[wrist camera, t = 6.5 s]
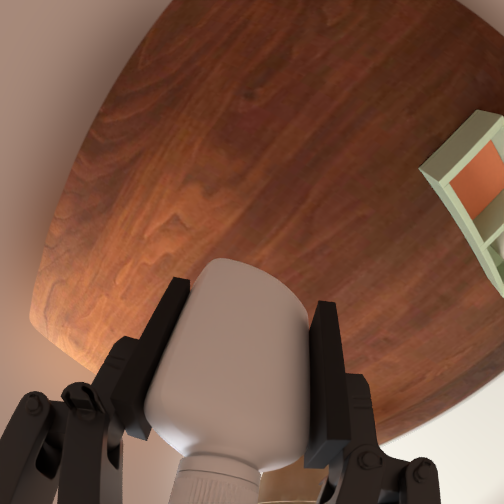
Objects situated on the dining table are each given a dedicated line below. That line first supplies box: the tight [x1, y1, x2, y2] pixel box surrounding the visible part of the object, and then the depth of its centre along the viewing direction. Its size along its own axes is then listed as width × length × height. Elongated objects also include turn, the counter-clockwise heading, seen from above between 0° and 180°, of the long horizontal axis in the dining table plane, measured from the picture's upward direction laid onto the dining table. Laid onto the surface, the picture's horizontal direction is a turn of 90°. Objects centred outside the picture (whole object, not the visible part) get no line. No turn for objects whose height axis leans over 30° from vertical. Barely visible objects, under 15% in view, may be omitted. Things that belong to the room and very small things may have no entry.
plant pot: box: [257, 454, 329, 504], centre depth 44 cm, size 15×15×16 cm
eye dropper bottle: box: [144, 258, 310, 504], centre depth 9 cm, size 4×6×12 cm
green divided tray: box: [419, 110, 504, 298], centre depth 23 cm, size 18×10×5 cm, turn 50°
